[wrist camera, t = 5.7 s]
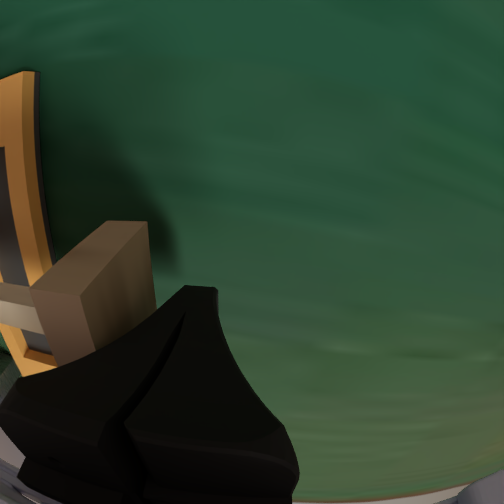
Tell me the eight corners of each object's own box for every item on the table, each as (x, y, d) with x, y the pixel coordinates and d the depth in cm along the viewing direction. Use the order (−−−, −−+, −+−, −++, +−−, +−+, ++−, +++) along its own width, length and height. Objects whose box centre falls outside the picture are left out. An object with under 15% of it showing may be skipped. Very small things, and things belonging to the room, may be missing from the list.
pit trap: (99, 391, 17) (92, 405, 16) (35, 374, 17) (27, 385, 16) (39, 72, 9) (22, 71, 8) (-30, 98, 9) (-46, 101, 8)
